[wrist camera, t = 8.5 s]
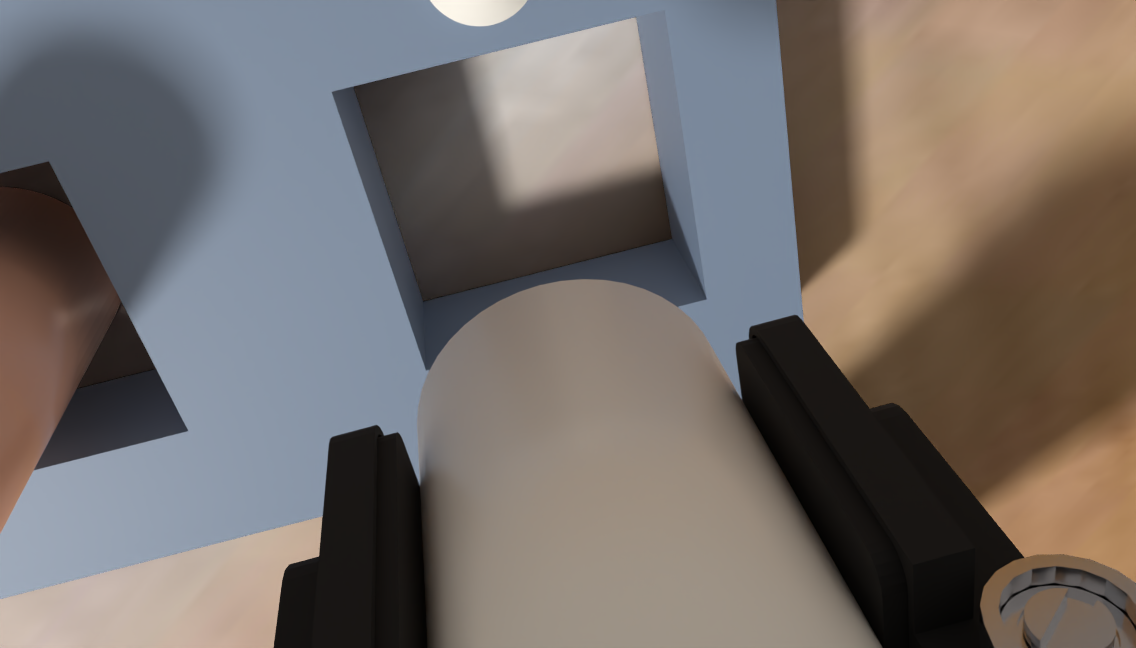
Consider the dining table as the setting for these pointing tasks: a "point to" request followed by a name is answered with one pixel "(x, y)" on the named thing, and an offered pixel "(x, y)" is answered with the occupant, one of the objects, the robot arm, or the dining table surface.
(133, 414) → the slot rack
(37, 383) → the terracotta plug
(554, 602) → the cream plug
